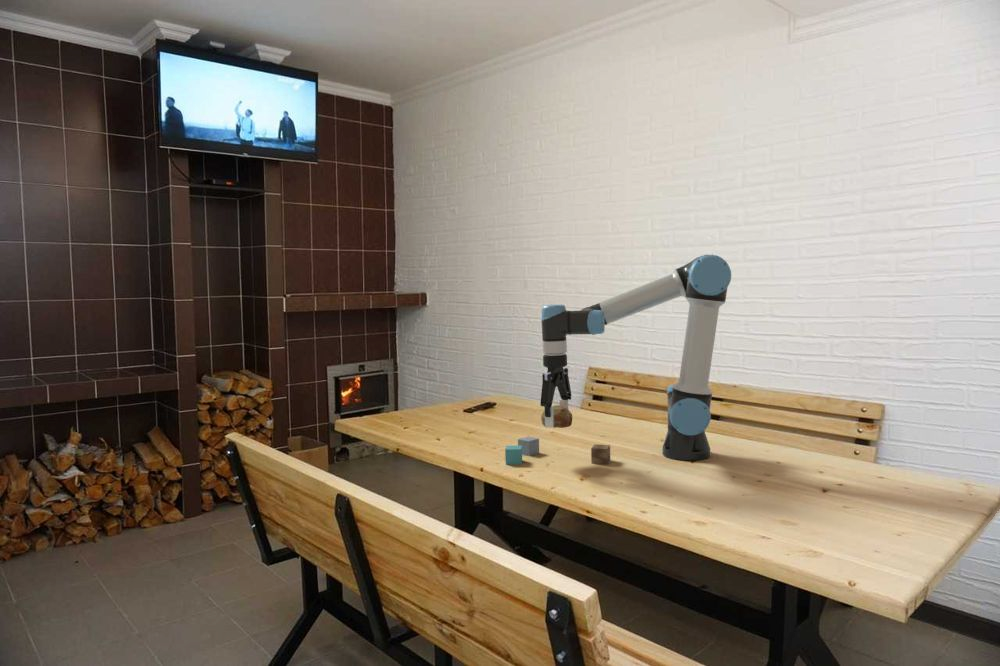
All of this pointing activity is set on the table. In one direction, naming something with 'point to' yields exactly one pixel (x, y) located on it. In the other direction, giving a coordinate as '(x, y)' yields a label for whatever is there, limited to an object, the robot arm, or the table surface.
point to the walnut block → (600, 454)
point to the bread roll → (560, 417)
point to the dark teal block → (513, 455)
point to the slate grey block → (529, 445)
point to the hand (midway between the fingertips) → (557, 423)
